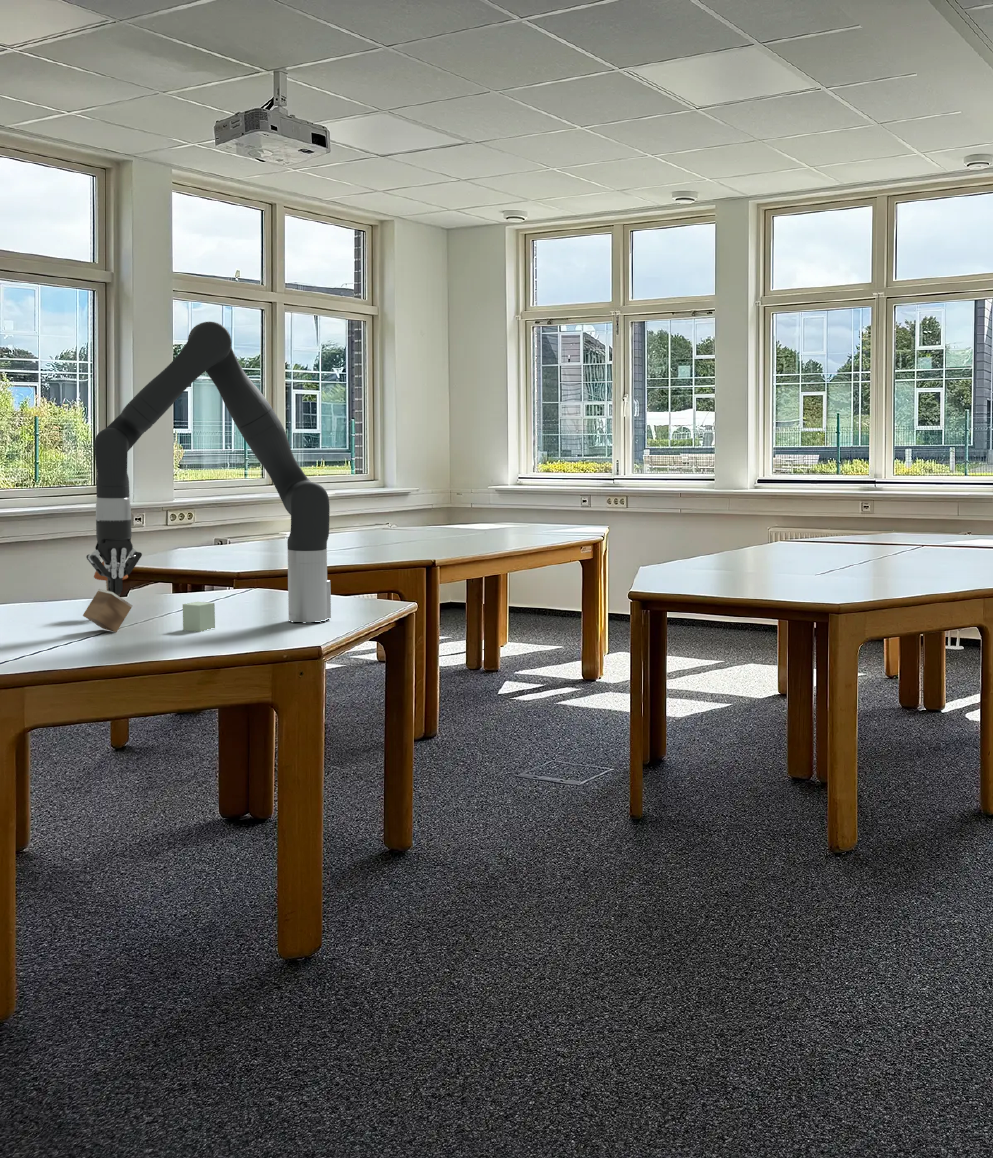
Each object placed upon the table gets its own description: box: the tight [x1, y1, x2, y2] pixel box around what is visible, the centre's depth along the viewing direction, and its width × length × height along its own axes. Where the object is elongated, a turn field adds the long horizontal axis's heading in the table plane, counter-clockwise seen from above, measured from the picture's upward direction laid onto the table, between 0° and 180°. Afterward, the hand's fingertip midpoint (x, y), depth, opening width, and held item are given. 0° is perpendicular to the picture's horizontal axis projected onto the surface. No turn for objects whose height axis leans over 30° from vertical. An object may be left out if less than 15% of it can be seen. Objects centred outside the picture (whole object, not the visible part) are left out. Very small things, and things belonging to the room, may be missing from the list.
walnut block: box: [82, 588, 133, 633], centre depth 265 cm, size 6×6×7 cm
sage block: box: [182, 601, 216, 633], centre depth 269 cm, size 5×5×6 cm
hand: (115, 594), depth 267 cm, fingers closed
